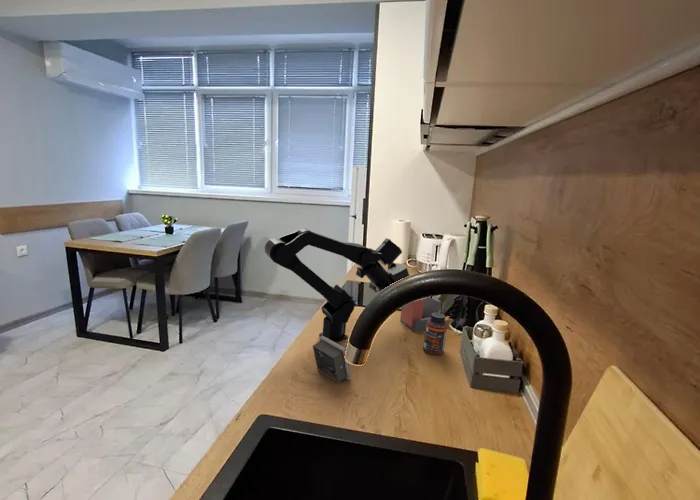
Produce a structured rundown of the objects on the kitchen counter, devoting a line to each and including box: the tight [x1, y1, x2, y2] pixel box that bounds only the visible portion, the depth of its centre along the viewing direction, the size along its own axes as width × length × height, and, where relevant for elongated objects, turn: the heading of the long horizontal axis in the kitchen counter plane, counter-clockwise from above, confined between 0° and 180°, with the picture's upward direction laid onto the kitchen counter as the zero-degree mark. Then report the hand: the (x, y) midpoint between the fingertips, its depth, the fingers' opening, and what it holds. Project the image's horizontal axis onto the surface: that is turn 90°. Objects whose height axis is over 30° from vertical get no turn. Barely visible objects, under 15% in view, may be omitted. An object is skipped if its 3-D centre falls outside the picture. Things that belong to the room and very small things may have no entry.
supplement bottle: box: [422, 312, 448, 355], centre depth 111 cm, size 6×6×11 cm
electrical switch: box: [312, 336, 352, 384], centre depth 93 cm, size 9×5×9 cm, turn 45°
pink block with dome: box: [400, 299, 424, 327], centre depth 127 cm, size 4×6×11 cm
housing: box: [399, 296, 442, 333], centre depth 129 cm, size 8×10×10 cm
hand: (403, 305), depth 125 cm, fingers closed
